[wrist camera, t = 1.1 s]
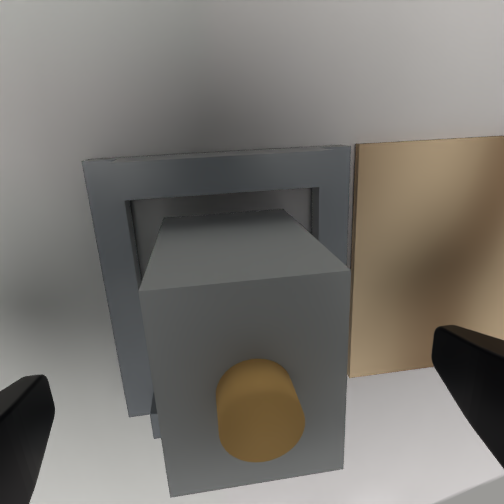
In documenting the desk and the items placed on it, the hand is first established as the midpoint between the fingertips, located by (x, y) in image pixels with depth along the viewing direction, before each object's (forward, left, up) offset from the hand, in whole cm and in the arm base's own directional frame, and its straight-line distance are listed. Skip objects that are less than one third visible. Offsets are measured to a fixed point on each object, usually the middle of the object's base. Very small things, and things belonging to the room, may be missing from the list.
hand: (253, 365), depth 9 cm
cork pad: (-9, 0, -5) cm, 10 cm away
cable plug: (0, 0, -5) cm, 5 cm away
